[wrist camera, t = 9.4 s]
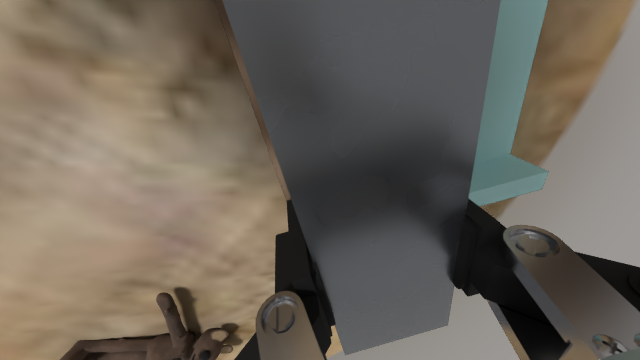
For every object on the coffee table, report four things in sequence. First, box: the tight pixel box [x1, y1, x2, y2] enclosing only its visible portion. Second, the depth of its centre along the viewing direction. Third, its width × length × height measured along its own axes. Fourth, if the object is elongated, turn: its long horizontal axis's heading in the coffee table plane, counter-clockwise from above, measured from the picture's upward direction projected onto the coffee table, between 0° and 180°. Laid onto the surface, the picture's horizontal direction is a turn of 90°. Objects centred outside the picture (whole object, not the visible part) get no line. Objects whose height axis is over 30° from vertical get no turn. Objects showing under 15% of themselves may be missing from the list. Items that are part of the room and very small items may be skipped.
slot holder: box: [469, 0, 548, 207], centre depth 13 cm, size 20×8×4 cm, turn 12°
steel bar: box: [222, 0, 501, 355], centre depth 8 cm, size 14×4×4 cm, turn 12°
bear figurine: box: [60, 293, 233, 360], centre depth 23 cm, size 18×4×14 cm
